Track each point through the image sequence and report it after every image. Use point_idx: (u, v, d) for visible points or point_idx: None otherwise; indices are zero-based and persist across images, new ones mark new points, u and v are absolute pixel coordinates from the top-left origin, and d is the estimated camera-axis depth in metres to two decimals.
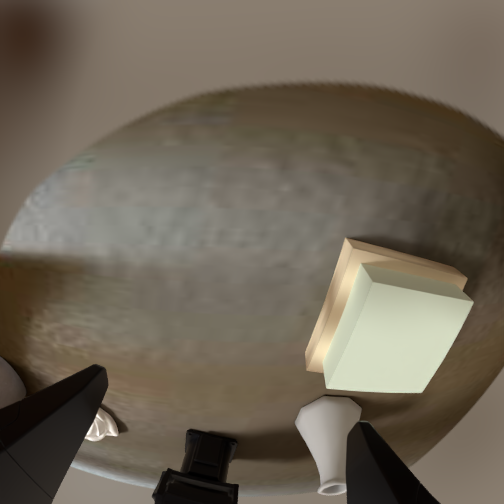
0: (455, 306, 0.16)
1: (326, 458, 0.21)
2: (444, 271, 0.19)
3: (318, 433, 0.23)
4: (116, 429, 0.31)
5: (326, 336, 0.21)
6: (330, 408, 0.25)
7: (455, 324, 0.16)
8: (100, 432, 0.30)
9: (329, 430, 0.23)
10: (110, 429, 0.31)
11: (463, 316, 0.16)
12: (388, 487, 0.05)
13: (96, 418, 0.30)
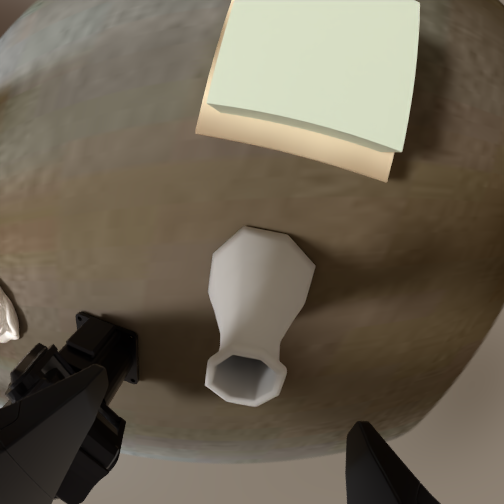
0: None
1: (231, 313, 0.13)
2: None
3: (227, 277, 0.16)
4: (14, 321, 0.23)
5: None
6: (252, 240, 0.17)
7: (404, 22, 0.09)
8: None
9: (245, 268, 0.15)
10: (7, 319, 0.23)
11: (412, 16, 0.09)
12: (388, 487, 0.05)
13: None
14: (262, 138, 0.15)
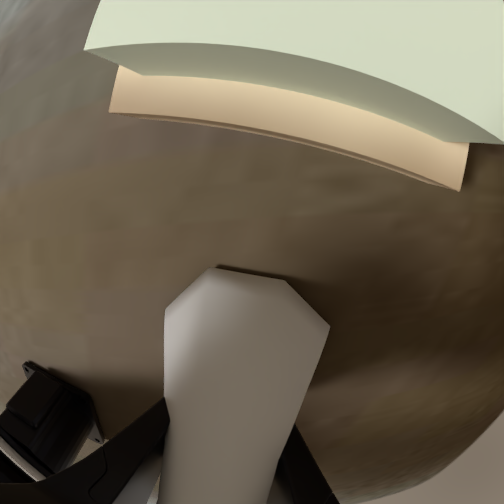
0: None
1: (175, 453, 0.06)
2: None
3: (176, 369, 0.08)
4: None
5: None
6: (221, 297, 0.10)
7: None
8: None
9: (202, 360, 0.08)
10: None
11: None
12: (290, 490, 0.05)
13: None
14: (228, 106, 0.07)
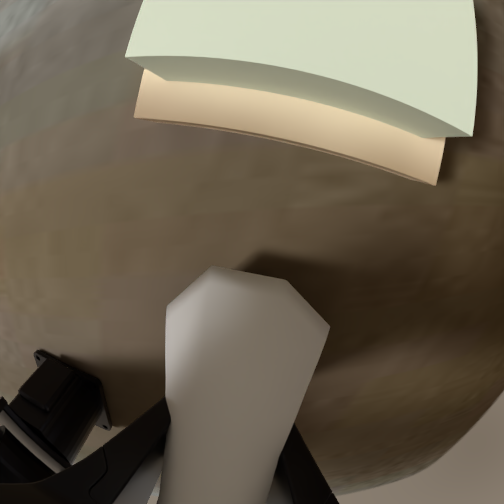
0: None
1: (177, 450, 0.06)
2: None
3: (178, 366, 0.08)
4: None
5: None
6: (224, 295, 0.10)
7: None
8: None
9: (205, 357, 0.08)
10: None
11: None
12: (290, 491, 0.05)
13: None
14: (237, 115, 0.09)
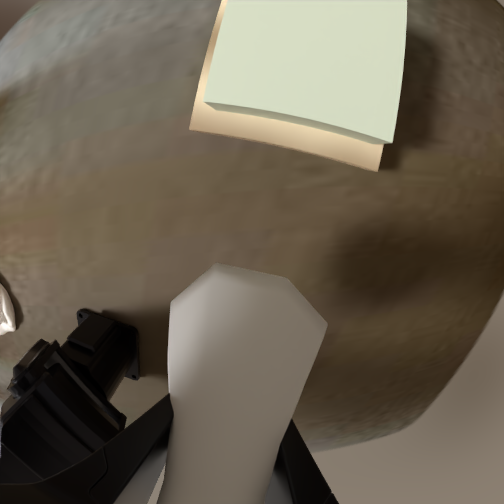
0: None
1: (182, 436, 0.06)
2: None
3: (183, 357, 0.09)
4: (10, 311, 0.24)
5: (209, 69, 0.14)
6: (227, 290, 0.10)
7: (391, 18, 0.09)
8: None
9: (210, 347, 0.08)
10: (3, 309, 0.23)
11: (400, 11, 0.09)
12: (290, 490, 0.05)
13: None
14: (254, 132, 0.15)
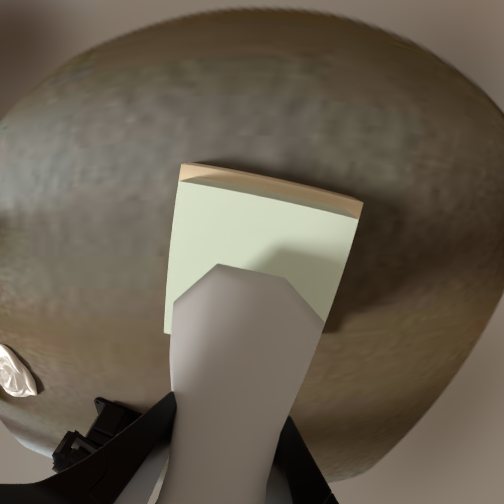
0: (323, 223, 0.14)
1: (186, 424, 0.07)
2: (320, 191, 0.16)
3: (186, 351, 0.09)
4: (32, 384, 0.28)
5: None
6: (229, 289, 0.11)
7: (332, 254, 0.14)
8: (18, 386, 0.26)
9: (212, 341, 0.09)
10: (27, 383, 0.27)
11: (345, 242, 0.14)
12: (290, 490, 0.05)
13: (15, 370, 0.27)
14: None
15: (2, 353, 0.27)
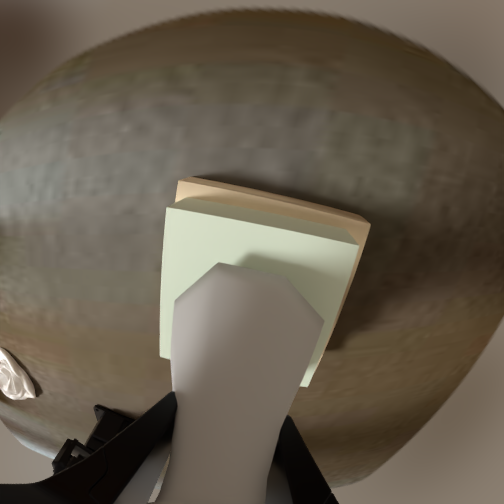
0: (321, 250, 0.13)
1: (187, 420, 0.07)
2: (325, 211, 0.15)
3: (187, 348, 0.09)
4: (31, 388, 0.27)
5: None
6: (229, 287, 0.11)
7: (330, 282, 0.13)
8: (16, 389, 0.26)
9: (213, 337, 0.09)
10: (25, 387, 0.27)
11: (344, 269, 0.13)
12: (290, 491, 0.05)
13: (13, 374, 0.26)
14: None
15: (0, 356, 0.27)
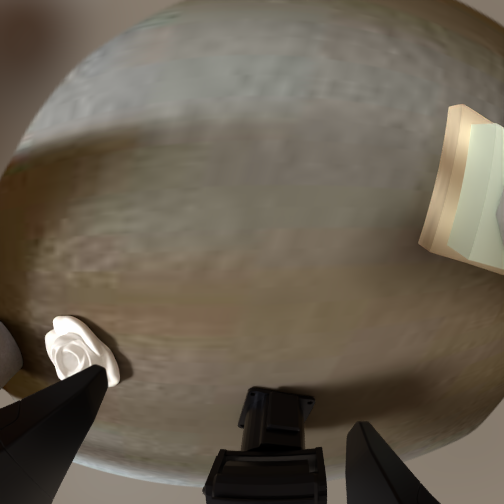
0: None
1: None
2: None
3: None
4: (117, 370, 0.24)
5: (449, 201, 0.16)
6: None
7: None
8: None
9: None
10: (108, 370, 0.24)
11: None
12: (388, 487, 0.05)
13: (90, 351, 0.23)
14: None
15: (66, 328, 0.24)
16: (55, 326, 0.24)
